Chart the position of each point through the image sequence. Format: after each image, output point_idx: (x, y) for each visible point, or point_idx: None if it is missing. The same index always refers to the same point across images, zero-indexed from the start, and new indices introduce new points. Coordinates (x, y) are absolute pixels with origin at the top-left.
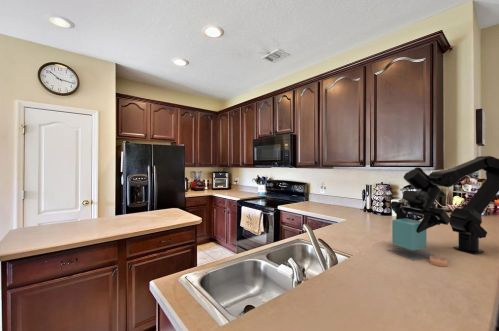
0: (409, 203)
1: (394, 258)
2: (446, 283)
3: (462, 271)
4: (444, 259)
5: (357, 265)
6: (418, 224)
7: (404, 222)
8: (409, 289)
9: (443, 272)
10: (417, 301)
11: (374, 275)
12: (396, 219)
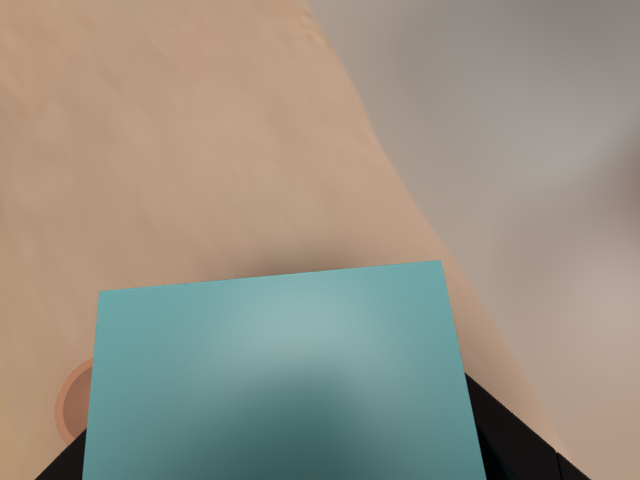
0: None
1: (286, 241)
2: (11, 225)
3: (26, 453)
4: (68, 418)
5: (276, 38)
6: (94, 464)
7: (248, 300)
8: (62, 62)
9: (73, 327)
10: (8, 27)
11: (185, 35)
12: (455, 358)
